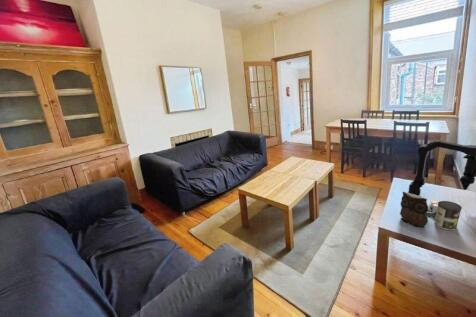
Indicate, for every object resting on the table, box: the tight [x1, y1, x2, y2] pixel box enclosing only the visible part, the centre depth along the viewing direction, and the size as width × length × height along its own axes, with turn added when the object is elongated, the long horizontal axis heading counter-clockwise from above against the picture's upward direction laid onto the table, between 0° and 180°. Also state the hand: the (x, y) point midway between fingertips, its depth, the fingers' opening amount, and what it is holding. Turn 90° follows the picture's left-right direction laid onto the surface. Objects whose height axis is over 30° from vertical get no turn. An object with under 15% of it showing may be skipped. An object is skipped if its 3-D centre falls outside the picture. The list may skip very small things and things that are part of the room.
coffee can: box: [433, 200, 462, 231], centre depth 134 cm, size 10×10×14 cm
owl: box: [399, 191, 429, 229], centre depth 139 cm, size 13×13×20 cm
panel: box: [426, 203, 436, 218], centre depth 146 cm, size 12×12×3 cm
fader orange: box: [430, 200, 439, 208], centre depth 149 cm, size 3×2×4 cm
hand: (466, 187), depth 147 cm, fingers open, 9 cm apart
